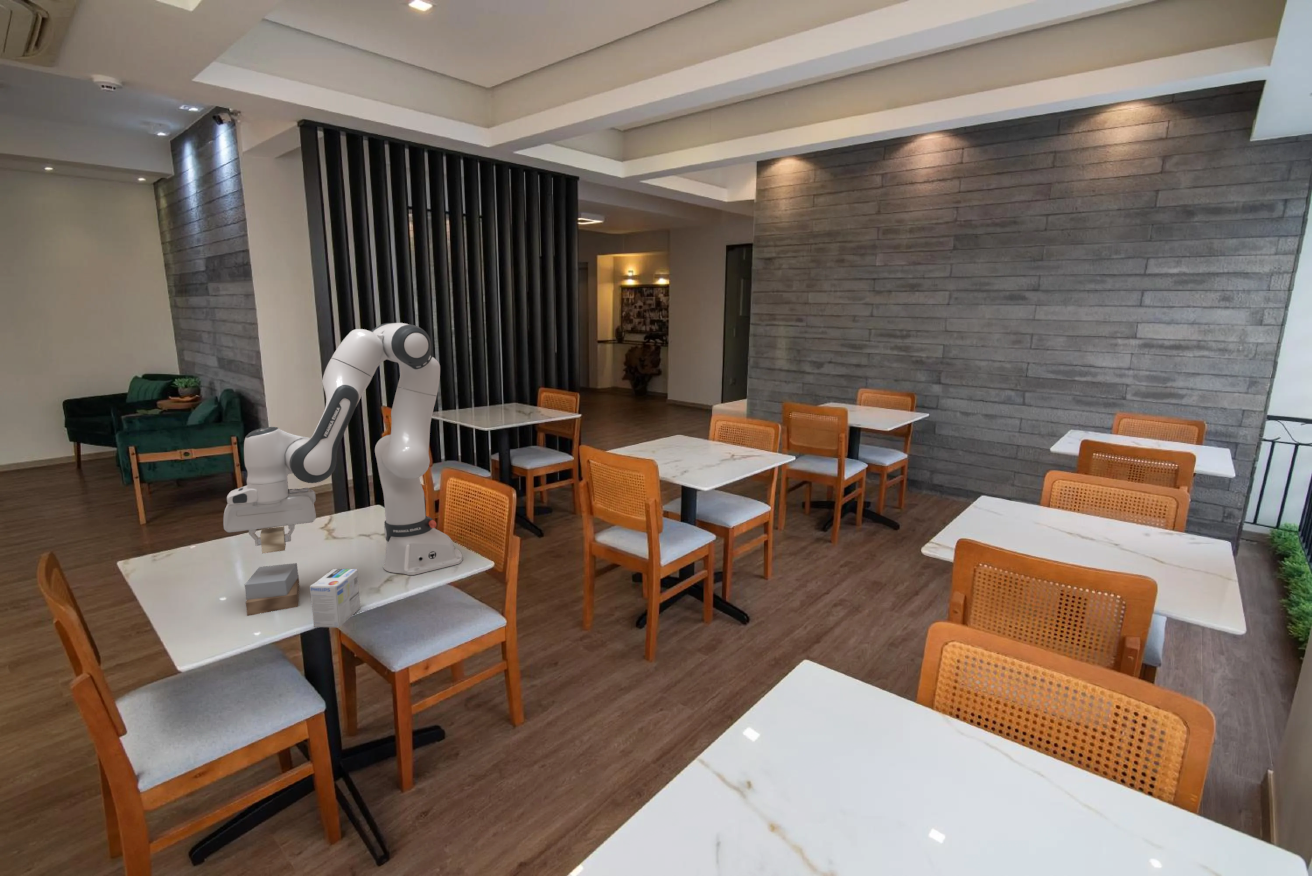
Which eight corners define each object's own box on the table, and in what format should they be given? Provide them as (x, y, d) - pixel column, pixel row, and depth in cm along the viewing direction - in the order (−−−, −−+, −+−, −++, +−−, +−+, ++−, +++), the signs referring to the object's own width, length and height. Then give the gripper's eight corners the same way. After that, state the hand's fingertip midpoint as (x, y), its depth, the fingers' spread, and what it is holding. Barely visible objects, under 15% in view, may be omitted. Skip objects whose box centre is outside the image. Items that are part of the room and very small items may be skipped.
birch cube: (285, 544, 166) (284, 526, 165) (285, 550, 161) (283, 532, 161) (263, 547, 163) (261, 529, 163) (262, 553, 159) (260, 534, 158)
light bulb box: (336, 607, 161) (332, 567, 159) (362, 608, 161) (358, 568, 159) (312, 627, 151) (308, 585, 149) (340, 628, 150) (336, 586, 148)
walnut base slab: (299, 588, 173) (298, 574, 173) (298, 608, 161) (296, 594, 161) (252, 596, 168) (251, 582, 168) (247, 617, 156) (245, 602, 156)
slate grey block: (298, 576, 171) (296, 563, 170) (286, 595, 160) (285, 580, 159) (260, 581, 169) (259, 566, 168) (246, 599, 157) (244, 584, 156)
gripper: (314, 484, 167) (319, 533, 170) (222, 492, 158) (228, 545, 160) (314, 489, 162) (319, 540, 164) (219, 499, 152) (225, 553, 155)
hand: (273, 543), depth 162 cm, fingers closed on birch cube, 5 cm apart
